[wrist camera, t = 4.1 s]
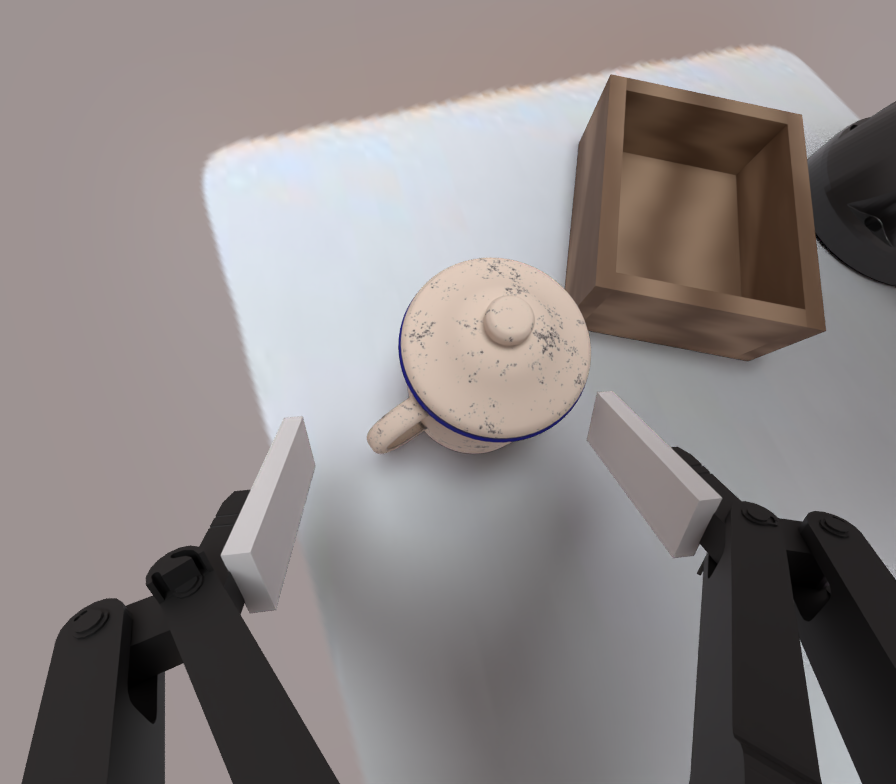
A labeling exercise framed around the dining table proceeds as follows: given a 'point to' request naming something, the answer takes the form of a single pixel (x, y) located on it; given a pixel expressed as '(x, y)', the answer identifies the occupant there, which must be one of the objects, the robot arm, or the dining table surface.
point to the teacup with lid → (487, 358)
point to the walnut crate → (694, 223)
